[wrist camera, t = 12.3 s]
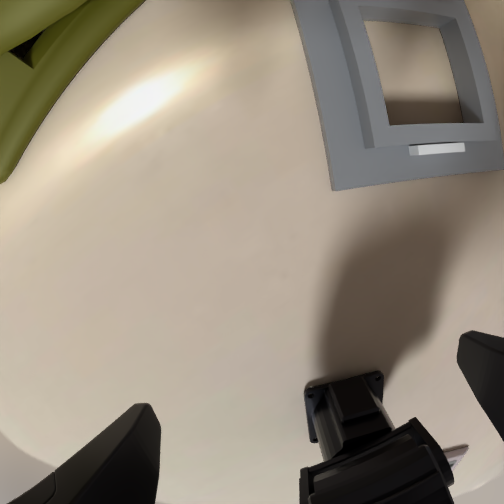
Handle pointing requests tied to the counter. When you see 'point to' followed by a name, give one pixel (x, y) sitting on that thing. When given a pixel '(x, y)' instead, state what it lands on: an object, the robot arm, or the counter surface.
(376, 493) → the robot arm
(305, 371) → the counter surface
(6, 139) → the spaceship
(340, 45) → the grey square frame
